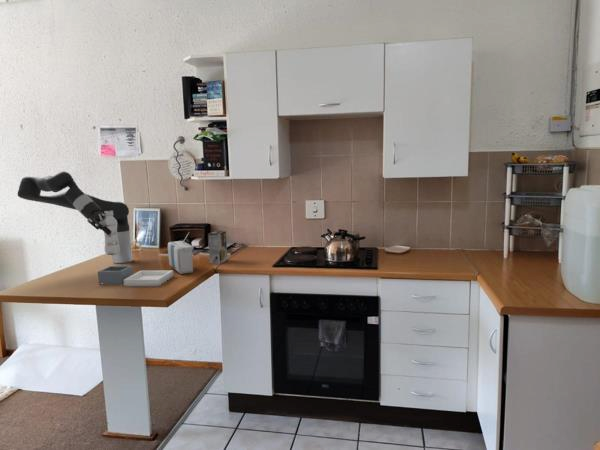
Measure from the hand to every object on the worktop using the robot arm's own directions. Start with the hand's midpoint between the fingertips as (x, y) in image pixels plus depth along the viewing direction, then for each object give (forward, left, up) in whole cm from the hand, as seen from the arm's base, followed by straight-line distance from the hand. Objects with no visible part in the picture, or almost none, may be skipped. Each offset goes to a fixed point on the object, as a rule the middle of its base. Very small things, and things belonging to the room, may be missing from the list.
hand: (114, 232), depth 194 cm
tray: (+15, 0, -23) cm, 27 cm away
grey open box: (-1, 0, -23) cm, 23 cm away
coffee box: (+36, +38, -23) cm, 57 cm away
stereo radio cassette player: (+22, +21, -23) cm, 38 cm away
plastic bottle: (-2, 0, -11) cm, 11 cm away
